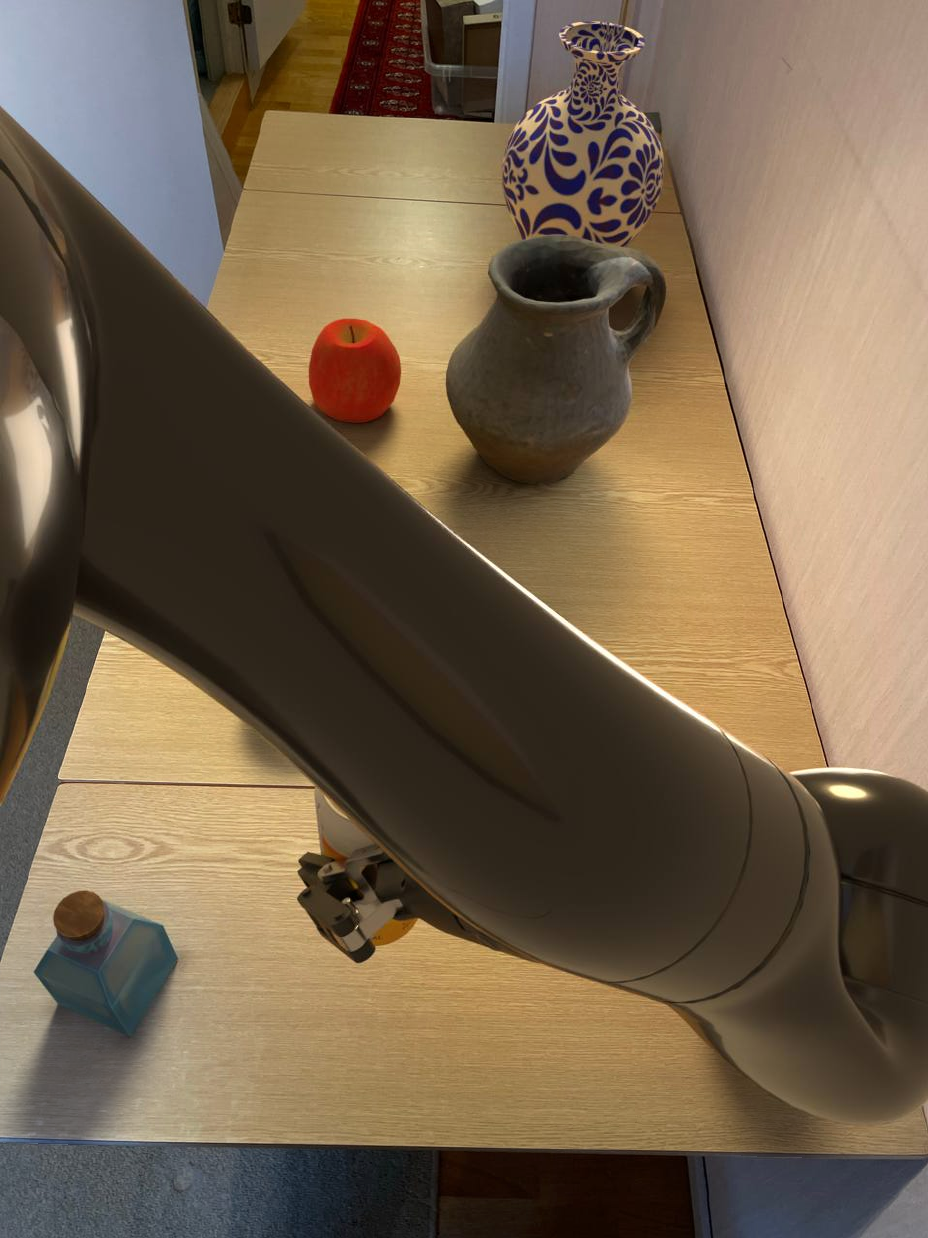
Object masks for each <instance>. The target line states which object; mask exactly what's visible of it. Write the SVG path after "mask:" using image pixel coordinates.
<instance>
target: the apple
mask: <svg viewBox="0 0 928 1238" xmlns="http://www.w3.org/2000/svg"><path fill="white" fill-rule="evenodd" d="M401 378H402V364H401V357H400V354H399V352H398V350H397V348H396V346H395V345H394V343H393V342H392V341H391V339H390V338H389V335H388V334H387V333H386V332H385V331H384V330H383V329H382V328H381V327H380V326H378V325H376V324H375V323H372V322H370V321H369V320H366V319H360V318H341V319H340V318H339V319H337V320H334V321H332V322H329V323H328V324H327V325H325V326H324V327H323V329H322V330H321V331H320V333H319V334H318V335H317V337H316V340H315V342H314V344H313V346H312V348H311V353H310V358H309V364H308V385H309V390H310V392H311V395H312V399H313V401H314V403H315V405H316V406H317V407H318V410H320V411H321V412H323V413H324V414H325V415H327V416H328V417H330V418H332V419H335V420H336V421H339V422H345V423H352V424H357V423H369V422H371V421H373V420H375V419H378V418H380V417H382V416H383V414H384V413H385V412H386V411H387V410H388V409H389V408H390V406H392V404H393V403H394V402H395V399H396V396H397V393H398V391H399V389H400V385H401V380H402V379H401Z"/></svg>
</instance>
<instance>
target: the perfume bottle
mask: <svg viewBox="0 0 928 1238" xmlns="http://www.w3.org/2000/svg"><path fill="white" fill-rule="evenodd" d="M52 920H53V927H54V928H55V932H56V936H55V937H54V939H53V940H52V942H51V943H50V945H49V946H48V948H47V949H46V950H45V953H44V954H43V956H42V957H41V959H40V961H39V962H38V964H37V966H36V967H35V969H34V971H33V974H34V975H35V976H36V978H37V979H38V980H39V982H40V983H41V984H42V986H43V987H44V988H45V989H46V991H47V992H48V994H49V995H50V996H51V997H52V999H53V1000H54V1001H55V1003H56V1004H57V1005H59V1006H62V1007H64V1008H66V1009H68V1010H70V1011H72V1012H75V1013H76V1014H79V1015H81V1016H83V1017H85V1018H87V1019H89V1020H92V1021H94V1022H96V1023H99V1024H101V1025H103V1026H105V1027H107V1028H109V1029H111V1030H114V1031H116V1032H118V1033H119V1034H122V1035H124V1036H126V1037H129V1038H132V1036H133V1035H134V1033H135V1031H136V1030H137V1028H138V1026H139V1025H140V1023H141V1021H142V1019H144V1016H145V1014H146V1013H147V1011H148V1010H149V1009H150V1007H151V1005H152V1003H153V1002H154V1000H155V998H156V997H157V994H158V993H159V992H160V990H161V988H162V986H163V985H164V983H165V981H166V980H167V978H168V976H169V975H170V973H171V971H172V970H173V968H174V966H175V965H176V963H177V961H178V960H179V957H178V955H177V953H176V951H175V948H174V946H173V944H172V942H171V940H170V936H169V935H168V932H167V930H166V929H165V926H164V925H163V924H161V923H159V922H157V921H154V920H152V919H150V918H147V917H145V916H143V915H141V914H138V913H136V912H133V911H131V910H129V909H127V908H125V907H122V906H120V905H117V904H115V903H113V902H110V901H109V900H106V899H103V898H101V896H100V895H98V893H96V892H94V891H91V890H85V889H84V890H76V891H74V892H71V893H69V894H68V895H66V896H65V897H63V898H62V899H61V900H60V901H59V903H58V904H57V905H56V907H55V910H54V912H53V916H52Z"/></svg>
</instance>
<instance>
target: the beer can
mask: <svg viewBox="0 0 928 1238" xmlns="http://www.w3.org/2000/svg"><path fill="white" fill-rule="evenodd" d="M314 805H315V814H316V822H317V823H316V824H317V831H318V839H319V840H318V841H319V848H320V850H319V851H320V855H323V856H326V857H330V858H334V860H335V861H337V860H341V859H345V858H349V857H350V856H351V854H352V853H353V851H354V850H357V849H361V848H364V847H367V846H370V845H373V844H375V843H374V842H373V841H372V840H371V839H370V838H369V837H368V836H367V835H366V834H364V833H363V832H362V831H361V830H360V829H359V828H358V827H357V826H356V825H355V824H354V823H353V822H352V821H351V820H350V819H349V818H348V817H346V816H345V815H344V814H343V813H342V812H341V811H340V810H339V809H338V808H337V807H336V806H335V805H334V804H333V803H332V802H331V801H330V800H329V799H328V798H327V797H326V796H325V795H324V794H323V793H322V792H321V791H320V790H319V789H318V788H317V787H315V786H314ZM374 864H375V866H376V867H377V863H374ZM348 879H349V880H350V882H351V883H352V885H353V886H354V888H358V886H357V885H356V883H355V882H354V880H353V879H351V878H348ZM418 920H419V918H414V919H409V920H405V921H397V920H394V919H391V920H390V921H388V922H387V923H386V924H385V925H384V926H383V927H381V928H380V929H379V930H378V931H377V932H376V933H374V936H373V938H372V939H371V941H372V942H373V944H374V945H375V947H381V946H387V945H389V944H392V943H394V942H397V941H398V940H400V939H402V938H403V937H404V936H406V935H407V934H408V933H409V932H410V931H412V929H413V928H414V926H415V925H416V923H417V921H418Z"/></svg>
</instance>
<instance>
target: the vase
mask: <svg viewBox="0 0 928 1238" xmlns="http://www.w3.org/2000/svg"><path fill="white" fill-rule="evenodd" d="M558 35H559V40H560V42H561V45H562V47H563V48H564V49H565V50H566V51H567V52H568V53H570V54H572V56H573V58H574V59H573V60H574V73H573V77H572V80H571V83H570V84H569V86H568V88H564V89H562V90H560V91H558V92H556V93H554V94H552V95H550V96H548V97H546V98H545V99H542V100H541V101H539V102H538V103H537V104H535V105H534V106H533V107H531V108H530V109H529V110H528V111H527V112H526V113H525V114H524V115H523V116H521V118H520V119H519V121H518V122H517V123H516V124H515V126H514V127H513V130H512V131H511V134H510V136H509V137H508V141H507V143H506V147H505V150H504V155H503V160H502V164H501V188H502V193H503V196H504V200H505V201H504V202H505V204H506V208H507V210H508V213H509V216H510V219H511V221H512V223H513V224H514V227H515V229H516V231H517V232H518V235H519V236H520V238H521V240H526V239H528V238H530V237H534V236H542V235H553V234H560V235H574V236H578V237H581V238H583V239H586V240H590V241H593V242H597V243H602V244H607V245H614V246H620V247H628V245H630V244H631V243H632V242H633V241H634V239H635V238H637V236H638V235H639V234H640V232H641V231H642V229H643V228H644V227H645V226H646V224H647V223H648V222H649V219H650V217H651V216H652V214H653V212H654V210H655V208H656V207H657V205H658V202H659V199H660V195H661V192H662V188H663V186H664V173H665V163H664V162H665V161H664V152H663V147H662V143H661V140H660V137H659V134H658V133H657V131H656V129H655V127H654V125H653V123H652V122H651V121H650V120H649V119H648V117H647V116H646V115H645V114H644V113H643V112H642V111H641V109H639V108H638V107H637V105H635V104H634V103H633V102H631V101H630V99H628V98H626V97H625V96H623V95H622V94H621V92H620V87H619V85H620V84H619V79H620V73H621V70H622V67H623V66H624V64H625V62H626V61H627V60H631V59H633V58H636V57H637V56H638V55H639V53H641V50H642V49H643V48H644V46H645V44H646V40H645V37H644V36H643V35H642V34H641V33H639V32H638V31H637V30H634V29H633V28H630V27H627V26H624V25H621V24H619V23H618V24H617V23H613V22H606V21H595V20H594V21H592V20H591V21H589V20H588V21H578V22H573V23H570V24H567V25H565V26H563V27H562V28H561V29H560V30H559V33H558Z"/></svg>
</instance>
